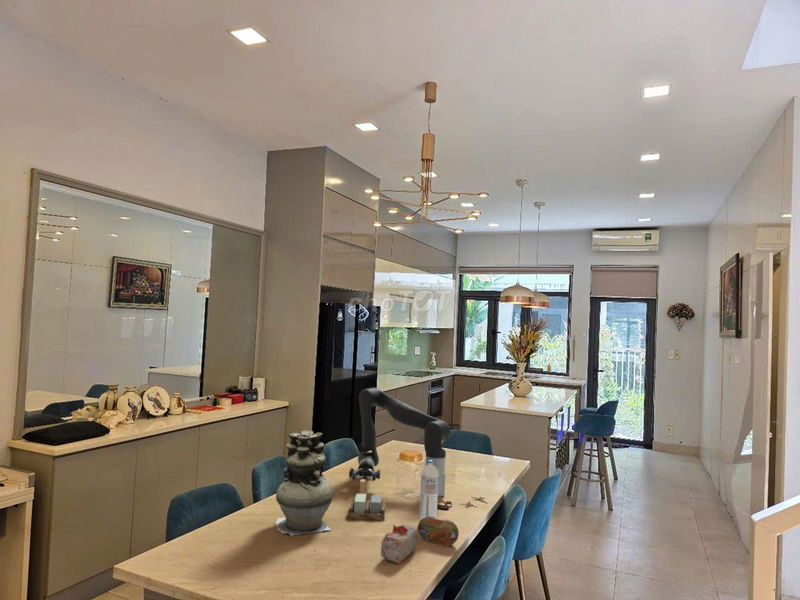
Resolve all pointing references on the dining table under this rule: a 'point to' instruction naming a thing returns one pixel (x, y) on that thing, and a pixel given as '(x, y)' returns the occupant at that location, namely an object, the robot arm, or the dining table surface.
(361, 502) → the sage block
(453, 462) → the dining table surface
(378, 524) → the dining table surface
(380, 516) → the lane rack
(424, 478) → the water bottle
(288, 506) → the decorative urn
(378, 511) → the slate block
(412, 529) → the food item
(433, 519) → the tin
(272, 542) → the dining table surface
